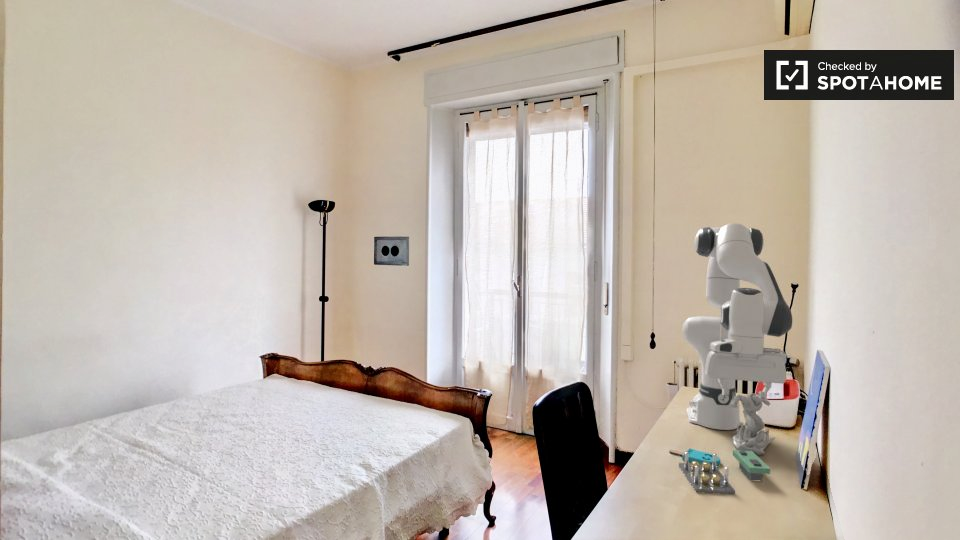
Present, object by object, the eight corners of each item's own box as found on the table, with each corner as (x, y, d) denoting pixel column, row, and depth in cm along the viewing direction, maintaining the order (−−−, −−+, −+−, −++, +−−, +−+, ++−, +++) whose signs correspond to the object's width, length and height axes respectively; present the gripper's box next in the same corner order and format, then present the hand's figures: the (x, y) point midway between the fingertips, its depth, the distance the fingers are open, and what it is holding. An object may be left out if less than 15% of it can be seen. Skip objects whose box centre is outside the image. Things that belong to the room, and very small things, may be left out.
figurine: (773, 461, 159) (776, 403, 158) (727, 452, 166) (730, 396, 165) (775, 442, 174) (778, 389, 173) (732, 434, 181) (735, 383, 180)
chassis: (678, 466, 155) (679, 447, 154) (713, 467, 154) (714, 449, 154) (695, 492, 139) (696, 471, 139) (735, 494, 138) (736, 474, 138)
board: (732, 454, 156) (732, 448, 156) (751, 455, 156) (752, 449, 155) (749, 472, 144) (749, 465, 144) (770, 474, 144) (770, 466, 144)
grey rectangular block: (739, 467, 154) (739, 458, 154) (749, 468, 154) (750, 458, 154) (750, 480, 146) (750, 469, 146) (761, 481, 146) (762, 470, 146)
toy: (672, 443, 168) (723, 456, 159) (672, 449, 168) (722, 462, 159) (665, 450, 162) (717, 464, 153) (665, 456, 162) (716, 470, 153)
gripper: (782, 348, 146) (780, 398, 146) (704, 342, 150) (702, 391, 150) (791, 350, 140) (789, 402, 139) (709, 344, 144) (707, 395, 143)
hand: (743, 396), depth 145 cm, fingers open, 8 cm apart
